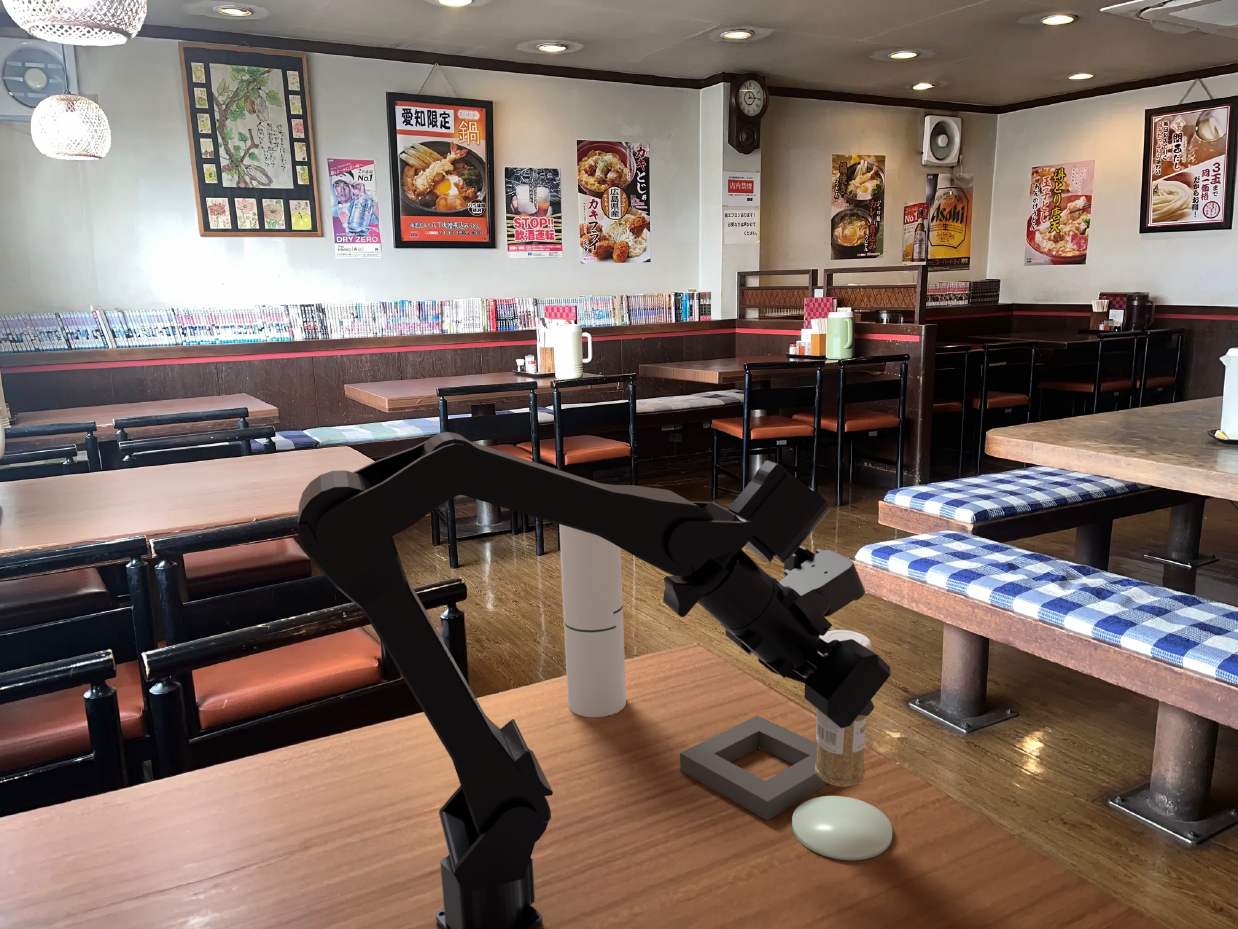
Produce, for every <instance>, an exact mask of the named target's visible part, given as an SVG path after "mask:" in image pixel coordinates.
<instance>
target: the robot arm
mask: <svg viewBox="0 0 1238 929" xmlns="http://www.w3.org/2000/svg"><path fill="white" fill-rule="evenodd" d="M458 496H463V497H467V498H471V499H474V500H476V501H477V500H478V501H481V502H484V503H487V504H491V505H494V506H498V507H501V508H504V509H507V510H510V511H514V512H518V513H520V514H524V515H527V516H531V517H533V518H534V517H535V518H538V519H542V520H544V521H548V522H551V523H555V524H557V525H559V524H561V525H564V526H567V527H571V528H574V529H577V530H581V531H584V532H587V533H591V534H594V535H597V536H600V537H602V538H603V539H605V540H607V541H609V542H611V543H613V544H615V545H616V546H618V547H620V548H621V550H624V551H625V552H628V553H629V554H631V555H632V556H634V557H636V558H638V559H640V560H641V561H642V562H643V561H644V562H646V563H647V564H649V565H650V566H653V567H655V568H657V569H659V570H661V571H662V572H665V573H667V574H669V575H666V576H664V578H663V582H664V591H663V598H662V599H663V600H662V601H663V602H662V603H664V604H665V605H666V606H667V607H668V608H670V610H672V611H673V612H674V613H675V614H676V615H677V616H679V617H680V618H685V617H686V616H687V615H688V614H689V613H690V611H691V610H692V609H693V608H694V607H695V606H696V604H697V603H698V605H700V606H701V607H702V608H703V609H704V610H705V611H707V612H708V614H710V615H711V616H712V617H713V618H714V619H716V621H717V622H718V623H720V626H722V627H723V628H724V629H725V636H726V637H727V638H728V639H730V640H731V641H732V642H733V643H734V644H735V645H736V646H737V647H739V648H740V649H741V650H742V651H744V652H745V653H746V654H748V655H749V656H751V655H752V654H753V655H754V656H756V657H757V659H758V662H759V663H760V664H761V665H762V666H763V667H765V668H766V669H767V670H768V671H769V672H771V673H773V674H775V675H779V676H781V677H782V678H783V679H791V680H793V681H796V682H799V683H802V684H804V694H803V695H804V697H803V698H804V699H805V700H806V701H807V702H808V703H810V705H812V706H813V707H814V708H815V709H816V710H817V709H818V710H819V711H820V712H821V713H822V714H824V715H825V716H826V717H827V718H829V719H830V720H831V721H832V722H834V723H835V724H836V725H837V726H839V727H840V728H845V727H848V726H850V725H851V724H852V723H853V722H854V720H855V719H856V718H857V717H858V715H862V716H866V717H869V716H870V715H871V713H872V712H873V711H874V709H875V705H874V702H873V701H872V699H873V698H874V697H875V696H876V694H877V693H878V692H879V690H880V689H881V688H882V686H884V684H885V683H886V682H887V681H888V679H890V676H891V666H890V665H889V664H888V663H886V661H885V660H884V659H883V658H881V657H880V656H879V655H878V654H877V653H876V652H874V651H873V650H872V649H871V650H869V649H868V648H866V647H864V646H863V645H861V644H860V643H858V642H856V641H855V640H853V639H849V640H844V641H839V640H832V641H831V642H829V643H827V642H825V641H824V640H822V639H821V638H819V637H820V636H824V635H825V634H826V633H827V632H828V631H830V629H831V627H833V624H832V623H831V621H829V620H828V619H827V618H826V617H830V616H832V615H834V614H835V613H837V612H839V611H840V610H841V609H843V608H844V607H846V606H847V605H849V604H850V603H852V602H853V601H859V600H860V599H861V598H863V597H864V596H865V593H866V590H865V587H864V585H863V583H862V580H861V577H860V576H859V572H858V570H857V568H856V565H855V563H854V560H852V559H850V558H849V557H847V556H844V555H843V554H840V553H838V552H836V551H834V550H831V549H827V550H826V549H825V550H823V549H821V548H817V549H815V552H816V554H815V553H814V552H813V551H811V550H810V549H809V548H807V547H805V546H802V544H803V543H804V542H805V541H806V540H807V538H809V536H810V535H811V533H812V532H813V531H814V530H815V529H816V528H817V526H819V524H820V523H821V522H822V521H823V519H824V518H825V517H826V515H827V514H828V513H829V512H830V511H831V507H830V506H831V505H830V504H829V503H828V502H827V500H826V499H825V498H824V497H823V495H821V494H820V492H819V491H817V490H816V489H815V488H811V487H809V486H808V485H806V484H805V483H804V482H803V481H801V480H800V479H798V477H796V476H794V475H792V474H791V473H789V472H788V471H787V470H786V469H785V468H783V466H782V465H781V464H779V463H777V462H774V461H771V460H764V462H762V464H761V465H760V467H759V468H758V469H757V470H756V472H755V474H754V475H753V477H752V479H751V481H750V482H749V483H748V484H747V485H746V486H745V488H744V489H743V490H742V491H741V492H740V493H739V495H738V496H737V497H736V498H735V499H734V500H733V502H732V503H731V504H730V505H729V506H728V508H726V507H723V506H722V505H720V504H718V503H716V502H713V501H711V502H710V501H690V500H688V499H686V498H684V497H683V496H682V495H681V496H680V495H679V494H677V493H675V492H673V491H672V490H668V489H663V488H658V487H657V488H655V487H650V486H649V487H647V486H640V485H634V484H631V485H629V484H627V485H625V484H609V483H602V482H601V483H600V482H596V481H593V480H590V479H588V478H584V477H582V476H578V475H575V474H572V473H570V472H567V471H563V470H559V469H557V468H554V467H551V466H548V465H545V464H541V463H539V462H536V461H532V460H529V459H526V458H523V457H520V456H517V455H514V454H510V453H507V452H503V451H502V450H499V449H496V448H492V447H490V446H485V445H482V444H480V443H477V442H473V441H470V440H469V439H467V438H465V437H464V436H462V435H461V434H458V433H455V432H450V431H445V432H441V433H440V432H439V433H436V434H435V435H434V436H432V437H430V438H428V440H426V441H423V442H421V443H419V444H418V445H415V446H413V447H410V448H407V449H406V450H403V451H400V452H397V453H394V454H391V455H388V456H385V457H383V458H380V459H378V460H375V461H373V462H371V463H369V464H367V465H364V466H363V467H361V468H359V469H357V470H355V471H349V470H346V469H345V470H331V471H328V472H325V473H322V474H319V475H318V476H317V477H315V478H314V479H313V480H311V481H310V482H309V483H308V484H307V485H306V487H305V489H304V490H303V491H302V494H301V496H300V499H299V503H298V510H297V511H298V514H297V538H298V540H299V544H300V546H301V549H302V550H303V551H304V553H305V554H306V556H307V557H308V558H309V559H310V561H312V563H313V564H315V566H316V568H318V569H319V570H320V571H321V573H322V574H323V575H324V576H325V577H326V578H327V579H328V581H330V583H331V584H332V585H333V586H334V587H335V588H336V589H337V590H338V591H340V592H341V593H342V594H343V595H344V596H345V597H347V598H348V599H349V600H350V601H351V602H352V603H353V604H355V605H356V606H357V607H358V608H359V609H360V611H361V612H363V614H364V615H365V616H366V618H367V620H368V621H369V623H370V624H371V627H372V628H373V630H374V631H375V633H376V635H377V636H378V638H379V639H380V642H381V643H382V645H383V646H384V649H385V650H386V652H387V653H388V655H389V656H390V658H391V660H392V661H393V663H394V665H395V666H396V668H397V670H398V672H399V674H400V675H401V677H402V678H403V680H404V682H405V683H406V685H407V687H408V688H409V690H410V692H411V694H412V695H413V696H414V698H415V700H416V701H417V704H418V705H419V707H420V708H421V710H422V711H423V713H424V715H425V717H426V718H427V720H428V722H429V723H430V725H431V727H432V728H433V730H434V732H435V733H436V735H437V738H438V739H439V740H440V741H441V744H442V745H443V747H444V748H445V751H447V753H448V755H449V756H450V758H451V761H452V763H453V766H454V769H455V772H456V775H457V777H458V780H459V783H460V786H458V787H457V789H456V790H455V791H454V792H453V794H451V796H450V797H449V798H448V800H447V801H446V802H444V805H442V807H441V808H440V809H439V811H438V815H439V818H440V823H441V828H442V830H443V834H444V839H445V843H446V847H447V850H448V851H447V852H448V855H447V856H446V857H443V858H441V859H440V862H439V864H440V873H441V875H440V877H441V886H442V897H443V898H442V900H443V908H442V909H440V910H438V911H436V913H435V921H436V922H437V923H438V925H439V926H440V927H441V928H442V929H536V928H538V927H539V926H541V925H542V924H543V915H542V913H540V911H538V910H537V909H536V908H535V907H534V906H533V904H534V903H535V902H536V893H535V878H534V877H535V876H534V875H535V873H534V859H533V857H532V854H533V852H534V848H535V845H536V843H537V842H538V841H539V840H540V839H541V837H542V836H543V835H544V833H545V832H546V830H547V828H548V826H549V825H548V824H549V822H550V821H551V818H552V810H551V808H550V804H549V801H548V799H547V797H550V796H553V794H554V791H553V790H552V787H551V785H550V783H549V781H548V780H547V777H546V775H545V773H544V771H543V769H542V767H541V765H540V763H539V761H538V759H537V756H536V754H535V753H534V751H533V750H531V749H530V748H529V747H528V744H527V742H526V741H525V738H524V737H523V735H522V732H521V730H520V728H519V727H518V725H517V722H516V720H515V719H514V718H512V719H511V720H509V721H508V722H507V723H506V724H504V725H503V726H502V727H499V726H498V725H497V724H495V723H494V722H493V721H492V720H491V719H490V718H489V717H488V716H487V715H486V713H485V712H484V710H483V708H482V707H481V705H480V703H479V701H478V699H477V698H476V696H475V694H474V693H473V691H472V689H471V687H470V685H469V684H468V681H467V680H466V679H465V677H464V675H463V673H462V671H461V670H460V668H459V665H457V663H456V661H455V659H454V657H453V656H452V654H451V653H450V651H449V649H448V647H447V645H446V644H445V641H444V640H443V638H442V636H441V635H440V633H439V631H438V629H437V627H436V625H435V624H434V622H433V621H432V618H431V616H429V613H428V612H427V610H426V608H425V606H424V605H423V603H422V601H421V600H420V598H419V596H418V594H417V593H416V591H415V589H414V588H413V585H412V584H411V582H410V581H409V578H408V577H407V575H406V572H405V570H404V567H403V564H402V563H403V562H402V560H401V558H400V555H399V552H398V550H397V546H396V542H395V539H394V536H395V535H398V534H399V533H401V532H403V531H405V530H407V529H409V528H410V527H412V526H413V525H415V524H416V523H418V522H419V521H420V520H422V519H423V518H424V517H426V516H428V515H429V514H430V513H431V512H433V511H434V510H435V509H438V508H439V507H440V506H441V505H443V504H444V503H446V502H448V501H449V500H451V499H453V498H454V499H455V497H458ZM744 547H747V549H749V550H750V551H751V552H752V553H754V554H755V555H756V556H757V557H759V558H760V559H762V560H763V561H765V562H766V563H769V564H770V563H771V562H772V561H773V560H774V558H775V559H777V560H778V561H780V563H783V571H782V572H783V575H784V576H783V578H782V579H780V580H779V581H778V580H777V579H776V578H775V577H773V576H772V575H770V574H769V573H768V572H766V571H765V570H764V569H763V568H762V567H761V566H760V565H759V564H758V563H756V561H755V560H753V558H752V557H750V556H749V555H748V554H747V553H746V552H745V551H744V550H743V549H744ZM818 651H819V652H820V653H822V654H823V655H824V654H825V655H824V656H821V655H820V654H819V653H818ZM826 653H827V654H828V655H826Z"/></svg>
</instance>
